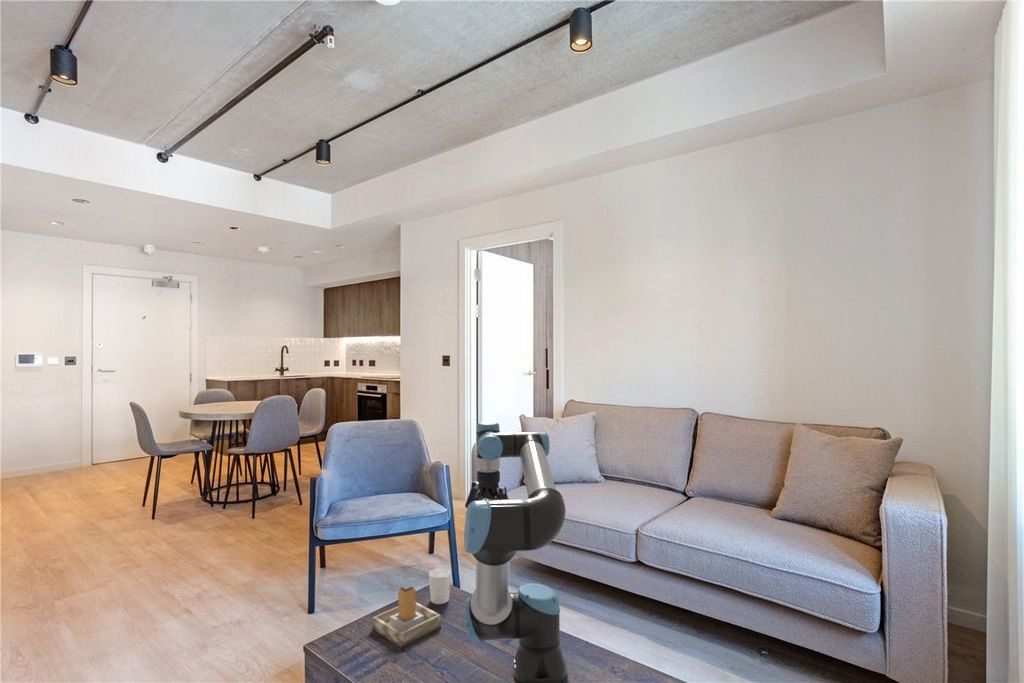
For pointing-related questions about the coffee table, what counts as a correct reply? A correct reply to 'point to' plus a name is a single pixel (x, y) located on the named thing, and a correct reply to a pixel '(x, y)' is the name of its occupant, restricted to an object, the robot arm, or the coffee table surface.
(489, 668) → the coffee table surface
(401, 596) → the connector
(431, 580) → the white cup
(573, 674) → the coffee table surface
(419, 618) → the socket
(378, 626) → the box
